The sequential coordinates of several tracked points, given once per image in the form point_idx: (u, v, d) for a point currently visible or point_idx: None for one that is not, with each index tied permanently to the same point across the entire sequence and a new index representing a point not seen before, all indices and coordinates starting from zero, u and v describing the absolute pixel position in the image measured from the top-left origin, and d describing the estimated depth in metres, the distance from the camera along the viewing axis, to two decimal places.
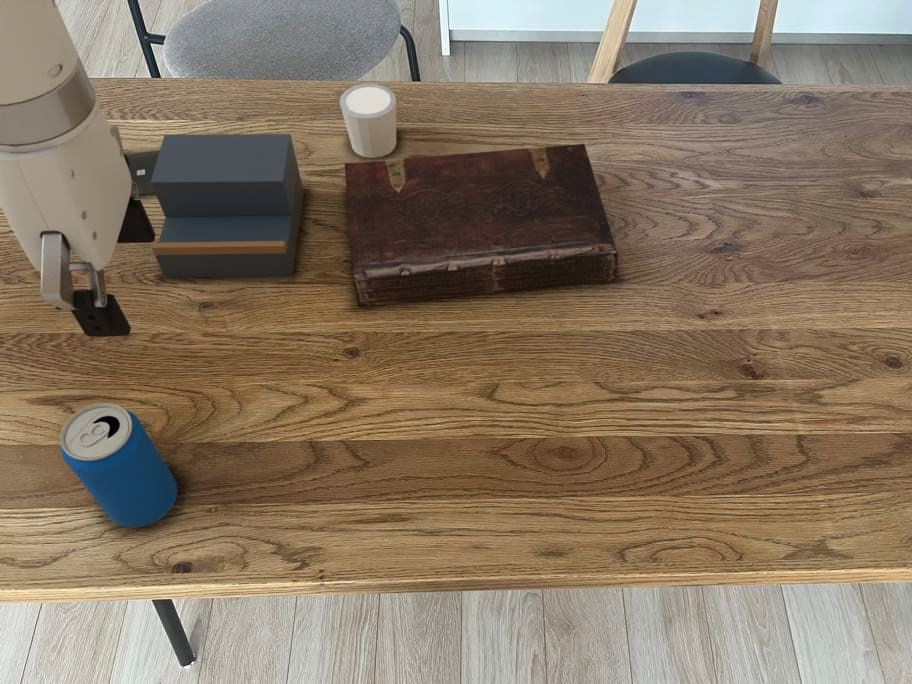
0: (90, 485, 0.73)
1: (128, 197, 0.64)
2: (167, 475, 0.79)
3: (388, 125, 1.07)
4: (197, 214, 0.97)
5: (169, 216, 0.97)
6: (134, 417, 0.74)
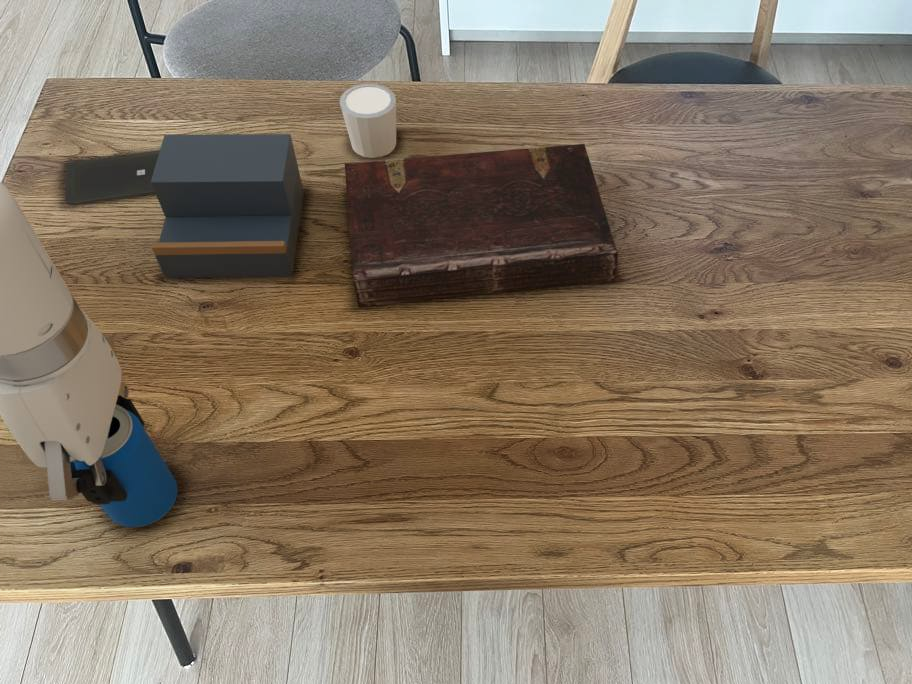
0: None
1: (118, 388, 0.72)
2: (167, 475, 0.79)
3: (388, 125, 1.07)
4: (197, 214, 0.97)
5: (169, 216, 0.97)
6: (134, 417, 0.74)
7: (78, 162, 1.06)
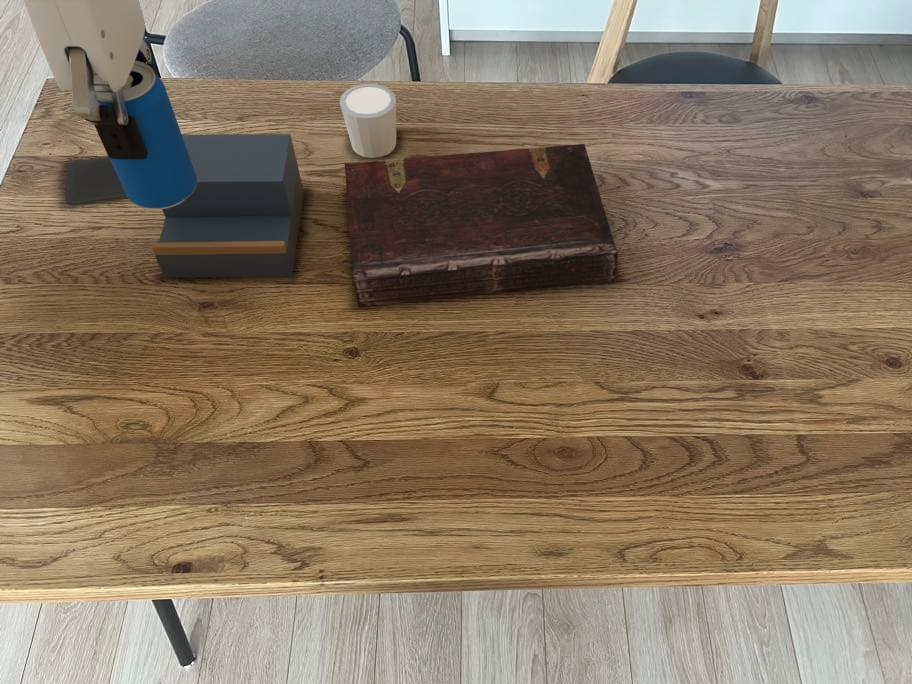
0: None
1: (142, 37, 0.72)
2: (187, 156, 0.79)
3: (388, 125, 1.07)
4: (197, 214, 0.97)
5: (169, 216, 0.97)
6: (157, 76, 0.74)
7: (78, 162, 1.06)
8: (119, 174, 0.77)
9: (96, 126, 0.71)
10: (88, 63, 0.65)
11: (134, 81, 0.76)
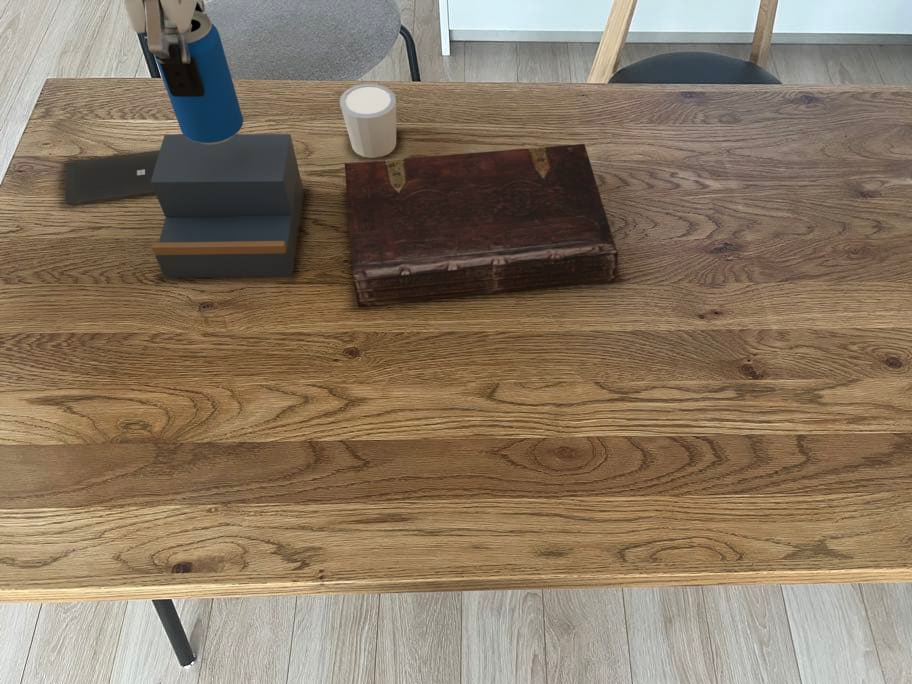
0: None
1: None
2: (236, 97, 0.90)
3: (388, 125, 1.07)
4: (197, 214, 0.97)
5: (169, 216, 0.97)
6: None
7: (78, 162, 1.06)
8: (178, 112, 0.88)
9: (162, 66, 0.82)
10: (160, 7, 0.76)
11: None
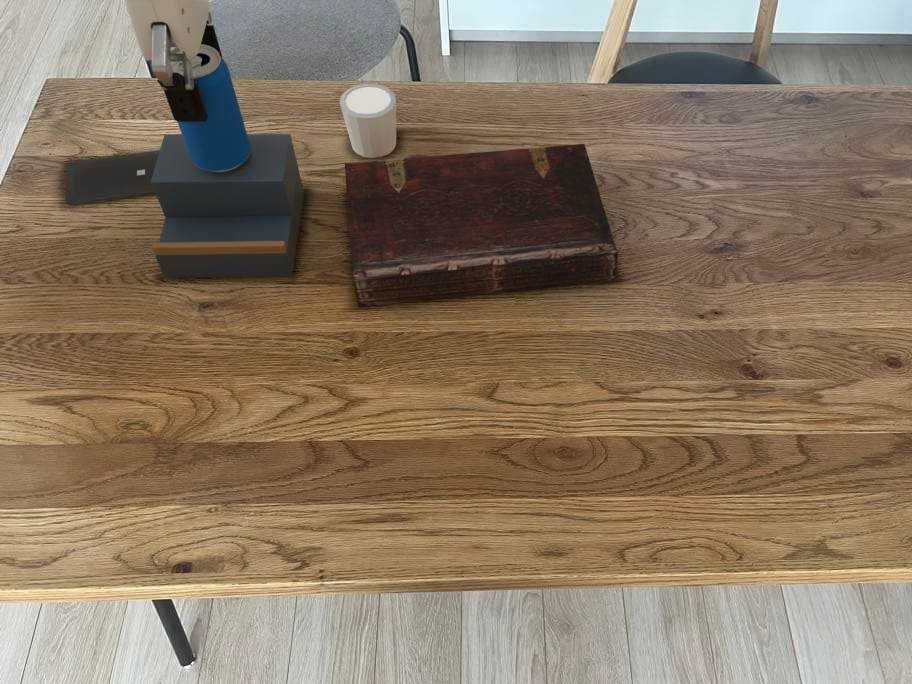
0: None
1: (207, 16, 0.85)
2: (244, 126, 0.93)
3: (388, 125, 1.07)
4: (197, 214, 0.97)
5: (169, 216, 0.97)
6: None
7: (78, 162, 1.06)
8: (188, 141, 0.91)
9: (165, 92, 0.83)
10: (170, 36, 0.79)
11: None
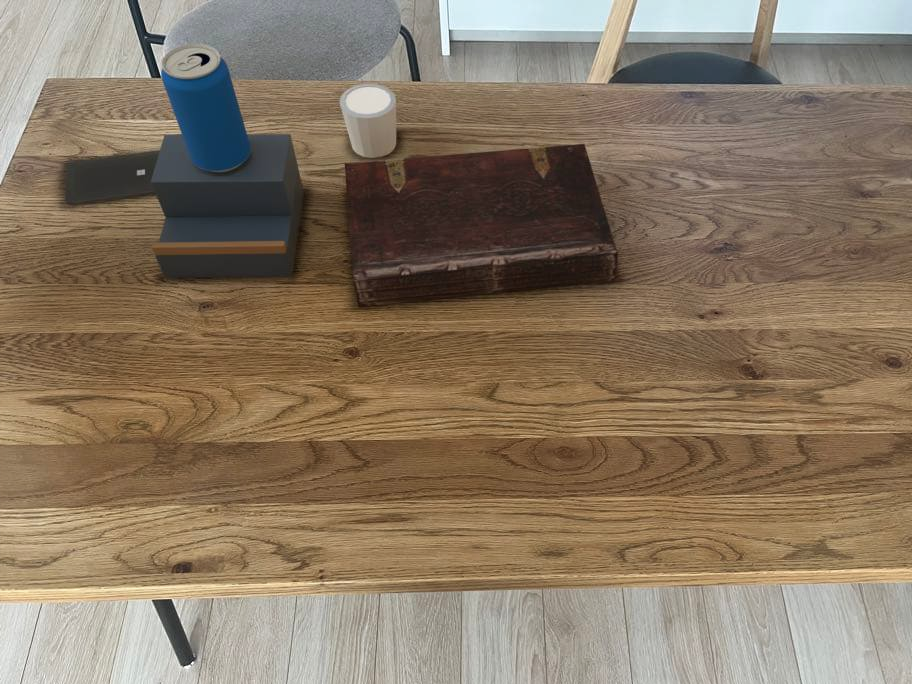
0: (185, 111, 0.88)
1: None
2: (244, 126, 0.93)
3: (388, 125, 1.07)
4: (197, 214, 0.97)
5: (169, 216, 0.97)
6: None
7: (78, 162, 1.06)
8: (188, 141, 0.91)
9: None
10: None
11: None
